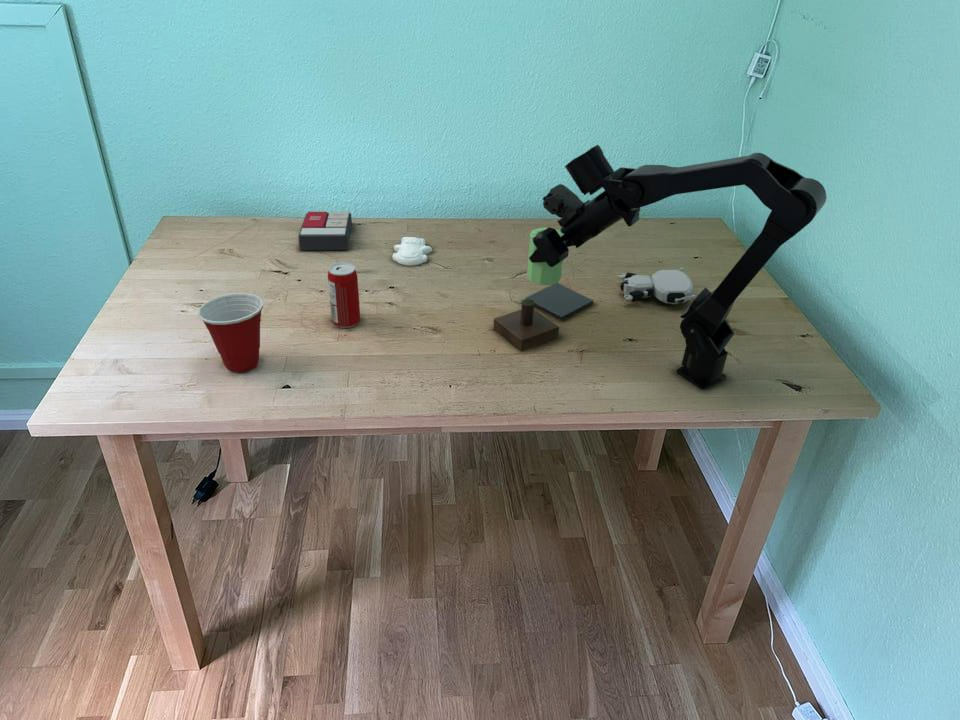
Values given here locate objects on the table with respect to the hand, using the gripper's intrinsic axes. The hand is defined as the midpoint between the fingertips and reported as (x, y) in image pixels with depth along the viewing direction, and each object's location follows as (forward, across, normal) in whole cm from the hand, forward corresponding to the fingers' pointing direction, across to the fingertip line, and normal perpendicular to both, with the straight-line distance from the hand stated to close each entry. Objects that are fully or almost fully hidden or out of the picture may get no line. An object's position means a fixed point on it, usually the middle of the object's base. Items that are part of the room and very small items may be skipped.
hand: (539, 253), depth 136 cm
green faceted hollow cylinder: (+2, 0, +4) cm, 5 cm away
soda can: (+29, +25, -10) cm, 40 cm away
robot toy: (-2, -22, +22) cm, 31 cm away
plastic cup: (+33, +47, -14) cm, 59 cm away
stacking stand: (+8, +7, +11) cm, 16 cm away
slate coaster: (+8, -7, +11) cm, 15 cm away
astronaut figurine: (+35, -6, -16) cm, 39 cm away
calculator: (+50, 0, -32) cm, 60 cm away
